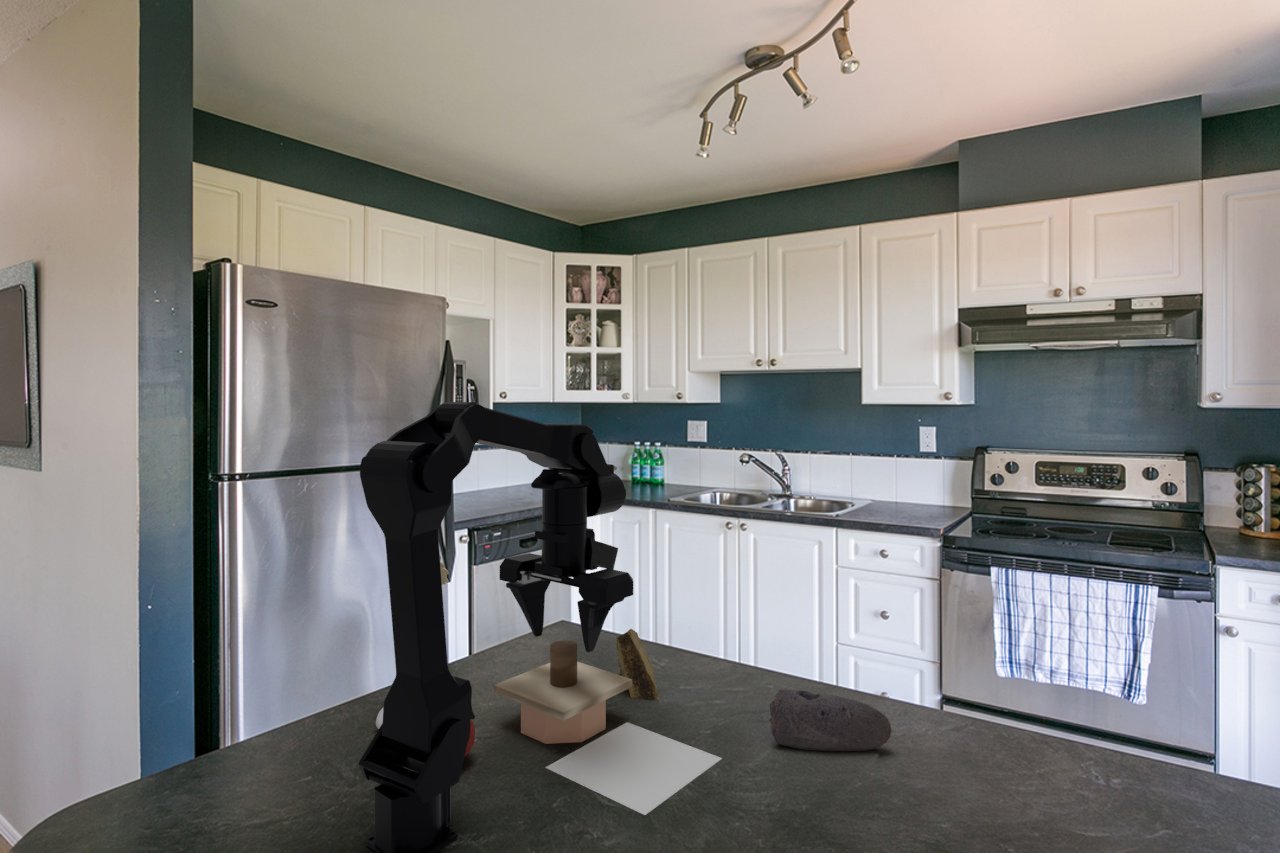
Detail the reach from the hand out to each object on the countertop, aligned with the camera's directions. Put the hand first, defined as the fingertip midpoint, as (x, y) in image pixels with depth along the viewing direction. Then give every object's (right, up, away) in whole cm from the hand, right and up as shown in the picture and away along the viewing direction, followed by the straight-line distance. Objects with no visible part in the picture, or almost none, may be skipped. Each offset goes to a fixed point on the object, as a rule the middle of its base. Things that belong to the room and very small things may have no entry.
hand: (563, 643), depth 90 cm
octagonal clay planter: (0, -12, +4) cm, 13 cm away
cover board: (0, -7, +4) cm, 8 cm away
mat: (+9, -13, -6) cm, 17 cm away
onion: (-13, -13, -6) cm, 19 cm away
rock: (+10, -12, +17) cm, 23 cm away
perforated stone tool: (+34, -13, -1) cm, 36 cm away
